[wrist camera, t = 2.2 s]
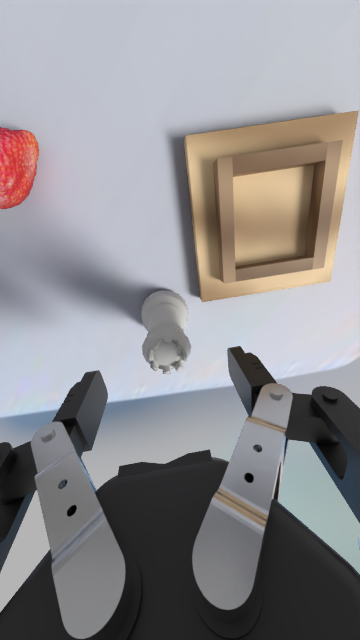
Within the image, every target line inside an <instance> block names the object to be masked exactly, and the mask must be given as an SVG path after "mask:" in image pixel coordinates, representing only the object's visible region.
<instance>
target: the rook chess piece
mask: <svg viewBox="0 0 360 640" xmlns="http://www.w3.org/2000/svg"><path fill="white" fill-rule="evenodd" d="M141 317H142V322H143V324H144V326H145V328H146V330H147V331H148V334H147V337H146V339H145V341H144V343H143V345H142V350H143V356H144V357H145V359H146V361H147V362H148V363H149V364H151V366H150V367H151V368H152V369H153V370H155V371H157V370H158V368H159V369H163V374H170V369H173V368H175V369H176V370H177V371H179V370H180V369H181V368H182V367H183V363H184V362H185V361H186V360H187V358H188V357H189V355H190V350H191V345H190V342H189V340H188V337H186V336H185V334H184V331H183V329H184V327H185V325H186V323H187V321H188V308H187V305H186V303H185V300H184V299H183V298H182V297H181V296H180V295H179V294H177V293H174V292H172V291H165V290H160V291H158V292H155V293H152V294H151V295H150V296H149V297H147V298H146V299H145V301H144V303H143V305H142V308H141Z"/></svg>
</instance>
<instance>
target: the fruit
mask: <svg viewBox="0 0 360 640" xmlns="http://www.w3.org/2000/svg"><path fill="white" fill-rule="evenodd" d="M38 156H39V147H38V143H37V141H36V138H35V136H34V135H33V134H32V133H31V132H29V131H26V130H9V129H7V128H1V127H0V209H7V208H11V207H14V206H16V205H19V204H20V203H22V201H24V200H25V199H26V197H27V196H28V195H29V193H30V190H31V188H32V185H33V181H34V177H35V175H36V169H37V166H36V162H37V160H38Z"/></svg>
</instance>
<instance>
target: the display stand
mask: <svg viewBox="0 0 360 640" xmlns="http://www.w3.org/2000/svg"><path fill="white" fill-rule="evenodd" d="M357 117H358V111H352V112H345V113H338V114H331V115H324V116H317V117H310V118H304V119H297V120H290V121H283V122H276V123H269V124H262V125H255V126H248V127H241V128H234V129H227V130H221V131H214V132H207V133H200V134H193V135H186V136H185V140H184V148H185V157H186V167H187V177H188V186H189V196H190V205H191V215H192V225H193V234H194V244H195V254H196V263H197V273H198V283H199V292H200V299H201V300H202V302H206V301H212V300H218V299H224V298H231V297H237V296H243V295H249V294H255V293H262V292H268V291H274V290H280V289H286V288H293V287H299V286H305V285H311V284H317V283H323V282H330V281H331V275H332V269H333V263H334V256H335V250H336V244H337V238H338V232H339V226H340V220H341V214H342V208H343V202H344V196H345V190H346V184H347V178H348V172H349V166H350V160H351V153H352V147H353V141H354V135H355V129H356V123H357Z"/></svg>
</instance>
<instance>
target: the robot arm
mask: <svg viewBox="0 0 360 640" xmlns="http://www.w3.org/2000/svg"><path fill="white" fill-rule="evenodd" d="M227 351H228V367H229V373H230V377H231V379H232V382H233V384H234V386H235V388H236V390H237V392H238V394H239V396H240V398H241V401H242V403H243V405H244V407H245V409H246V411H247V413H248V415H249V416H248V417H247V418H246V421H245V423H244V426H243V428H242V431H241V433H240V436H239V438H238V441H237V444H236V446H235V449H234V451H233V454H232V456H231V459H230V462H228V461H225V460H223V459H219V458H214V457H211V453H210V450H205V451H199V452H194V453H189V454H186V455H184V456H182V457H179V458H177V459H175V460H173V461H171V462H169V463H166V464H156V463H147V462H140V463H134V464H129V465H123V466H119V472H118V475H117V476H115V477H113V478H112V479H110V480H108V481H107V482H106V483H104V484H103V485H102V486H101V487H100V488H99V489H98V490H96V488H95V486H94V484H93V482H92V480H91V478H90V476H89V474H88V472H87V470H86V467H85V465H84V463H83V461H82V459H81V456H82V453H83V452H85V451H90V450H92V447H93V444H94V440H95V437H96V434H97V431H98V428H99V425H100V421H101V418H102V415H103V412H104V409H105V405H106V402H107V398H108V393H107V389H106V386H105V383H104V381H103V378H102V375H101V373H100V371H92V372H86V373H85V374H84V376H83V378H82V380H81V382H77V383H76V384H75V385H74V386H73V387H72V388H71V389H70V391H69V393H68V395H67V397H66V398H65V400H64V403H63V404H62V405H61V407H60V409H59V411H58V412H57V414H56V416H55V418H54V420H53V421H52V423H49V424H47V425H45V426H44V427H42V428H41V429H39V430H38V431H37V432H36V433H35V435H34V436H33V438H32V440H31V441H30V442H27V443H25V444H23V445H20V446H18V447H16V448H13V447H12V446H11V445H10V444H9V443H7V442H4V443H0V572H1V569H2V567H3V564H4V562H5V560H6V558H7V555H8V553H9V550H10V548H11V546H12V544H13V541H14V539H15V537H16V534H17V532H18V530H19V527H20V525H21V523H22V521H23V518H24V516H25V514H26V511H27V509H28V507H29V504H30V502H31V500H32V497H33V495H34V493H35V490H37V491H38V496H39V500H40V505H41V509H42V513H43V518H44V522H45V527H46V531H47V536H48V540H49V544H50V550H49V551H48V553H47V554H46V555H45V556H44V558H43V559H42V560H41V562H40V563H39V564H38V565H37V567H36V568H35V569H34V570H33V572H32V573H31V574H30V576H29V577H28V578H27V579H26V581H25V582H24V583H23V584H22V586H21V587H20V588H19V590H18V591H17V592H16V593H15V595H14V596H13V597H12V599H11V600H10V601H9V602H8V604H7V605H6V606H5V607H4V609H3V610H2V611H1V612H0V640H360V574H359V573H358V572H357V571H356V570H355V569H354V568H353V567H352V566H351V565H350V564H349V563H348V562H347V561H346V560H345V559H344V558H343V557H341V556H340V555H339V554H338V553H337V552H336V551H334V550H333V549H332V548H331V547H330V546H329V545H327V544H326V543H325V542H324V541H323V540H322V539H320V538H319V537H318V536H317V535H316V534H315V533H314V532H312V531H311V530H310V529H309V528H308V527H307V526H305V525H304V524H303V523H302V522H301V521H300V520H298V519H297V518H296V517H295V516H294V515H293V514H292V513H290V512H289V511H288V510H287V509H286V508H285V507H283V506H282V505H281V504H280V503H279V497H280V490H281V484H282V483H281V482H282V476H283V470H284V464H285V458H286V452H287V447H288V441H289V439H290V440H297V441H305V442H309V443H310V444H311V446H312V448H313V449H314V451H315V452H316V454H317V456H318V457H319V459H320V460H321V462H322V464H323V465H324V467H325V468H326V470H327V472H328V473H329V475H330V476H331V478H332V480H333V481H334V483H335V484H336V486H337V488H338V489H339V490H340V492H341V494H342V496H343V497H344V499H345V500H346V502H347V504H348V505H349V507H350V508H351V510H352V512H353V513H354V515H355V516H356V518H357V519H358V521H359V522H360V408H359V407H357V406H356V405H355V404H354V403H353V402H352V401H351V400H350V399H349V398H348V397H347V396H346V395H345V394H344V393H342V392H341V391H339V390H337V389H335V388H331V387H326V386H320V387H317V388H315V389H314V390H313V391H312V395H308V394H296V393H292V392H291V391H290V390H289V389H288V388H287V387H285V386H283V385H281V384H277V382H276V381H275V380H274V378H273V377H272V376H271V374H270V373H269V372H268V371H267V369H266V368H265V367H264V365H263V364H262V363H261V361H260V360H259V359H258V357H257V356H255V355H253V354H252V353H244V351H243V350H242V348H241V347H240V346H237V347H232V348H228V350H227ZM358 544H359V549H360V534H359V538H358Z"/></svg>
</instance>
